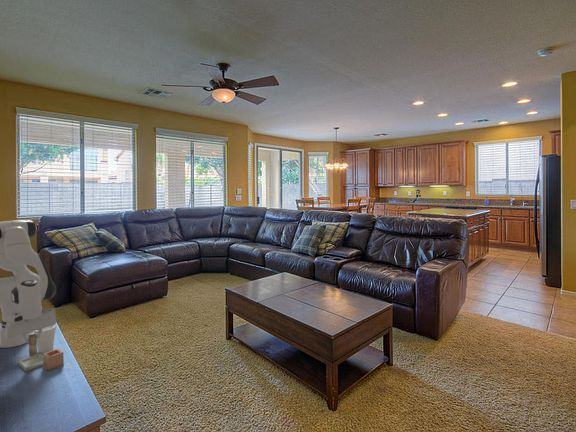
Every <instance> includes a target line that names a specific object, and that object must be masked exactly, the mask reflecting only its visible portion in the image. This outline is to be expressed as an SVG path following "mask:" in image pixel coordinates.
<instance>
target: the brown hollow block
mask: <svg viewBox="0 0 576 432" xmlns="http://www.w3.org/2000/svg"><path fill="white" fill-rule="evenodd" d="M42 356H43V363H44V365H43V368H44V369H46V371H48V372H50V371H53V370H56V369H58V368H60V367H64V366H65V365H64V364H65V361H64V351H62V350H61V349H59V348H55V349H53V350H51V351H49V352H46V353H42Z"/></svg>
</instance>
